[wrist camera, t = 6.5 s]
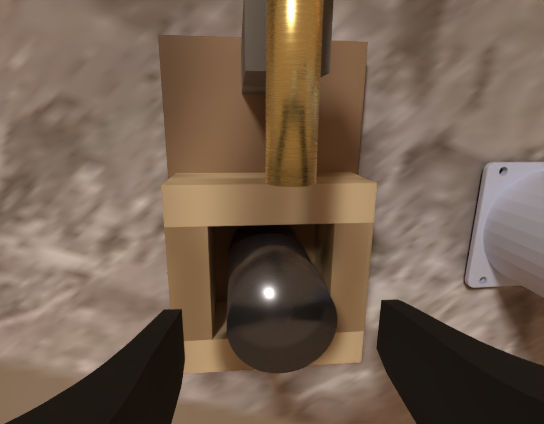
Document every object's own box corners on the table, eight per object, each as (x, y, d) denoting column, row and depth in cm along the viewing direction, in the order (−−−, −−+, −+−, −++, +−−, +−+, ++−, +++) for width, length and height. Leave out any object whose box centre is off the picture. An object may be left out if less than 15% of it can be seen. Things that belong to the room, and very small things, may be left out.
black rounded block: (300, 281, 19) (336, 366, 13) (231, 287, 19) (230, 379, 12) (299, 215, 18) (338, 269, 12) (226, 220, 18) (222, 280, 11)
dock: (360, 46, 17) (468, -21, 9) (340, 332, 22) (402, 456, 14) (162, 39, 16) (90, -42, 8) (183, 341, 21) (149, 480, 13)
